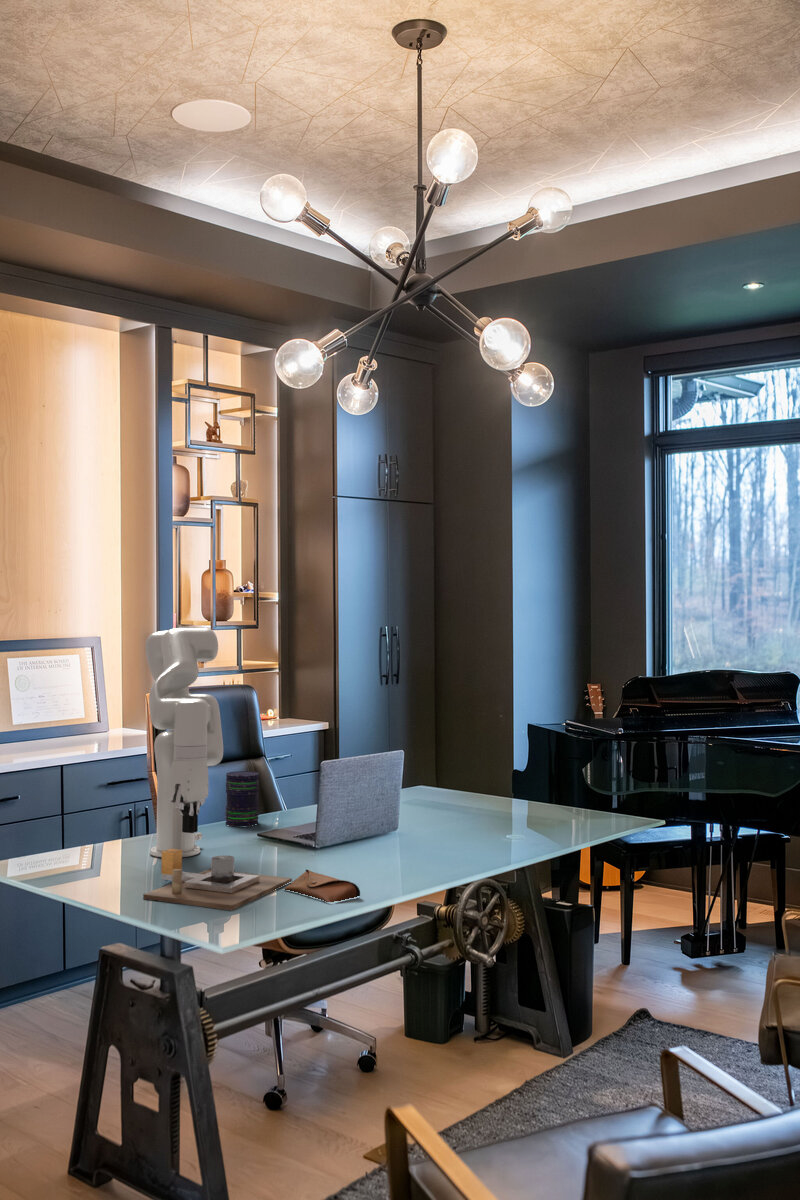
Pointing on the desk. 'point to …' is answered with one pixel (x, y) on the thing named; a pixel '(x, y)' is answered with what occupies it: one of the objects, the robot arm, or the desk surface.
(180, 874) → the dowel
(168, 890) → the base board
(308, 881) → the sunglasses case
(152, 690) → the robot arm
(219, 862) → the post
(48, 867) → the desk surface
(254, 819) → the storage jar
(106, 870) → the desk surface
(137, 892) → the desk surface
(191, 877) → the square frame with handle
